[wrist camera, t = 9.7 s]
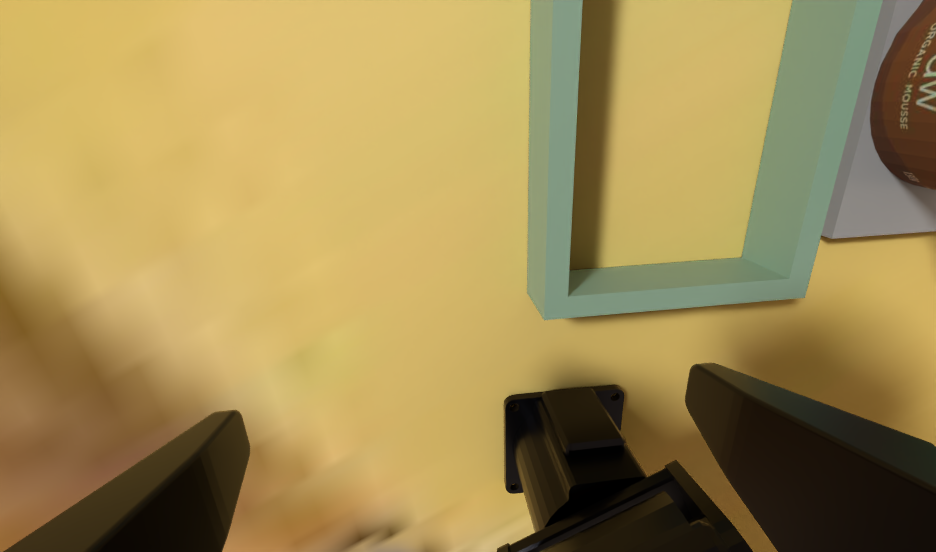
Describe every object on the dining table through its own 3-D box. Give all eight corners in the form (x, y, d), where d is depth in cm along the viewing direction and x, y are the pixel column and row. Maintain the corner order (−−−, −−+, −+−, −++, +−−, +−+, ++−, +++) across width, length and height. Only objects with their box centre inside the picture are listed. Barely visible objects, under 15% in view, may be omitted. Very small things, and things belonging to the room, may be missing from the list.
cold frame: (756, 274, 22) (804, 297, 20) (527, 292, 21) (544, 320, 18) (854, -186, 16) (948, -249, 13) (533, -194, 15) (560, -265, 12)
